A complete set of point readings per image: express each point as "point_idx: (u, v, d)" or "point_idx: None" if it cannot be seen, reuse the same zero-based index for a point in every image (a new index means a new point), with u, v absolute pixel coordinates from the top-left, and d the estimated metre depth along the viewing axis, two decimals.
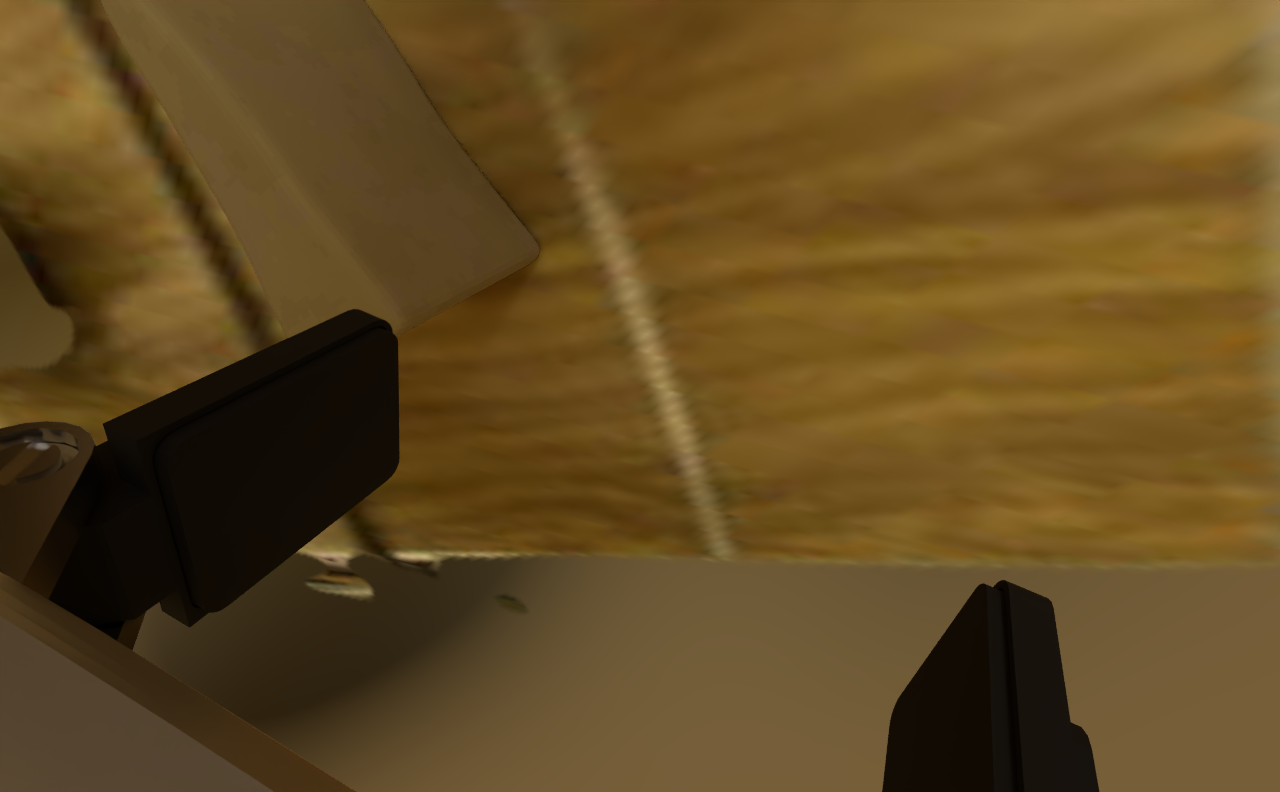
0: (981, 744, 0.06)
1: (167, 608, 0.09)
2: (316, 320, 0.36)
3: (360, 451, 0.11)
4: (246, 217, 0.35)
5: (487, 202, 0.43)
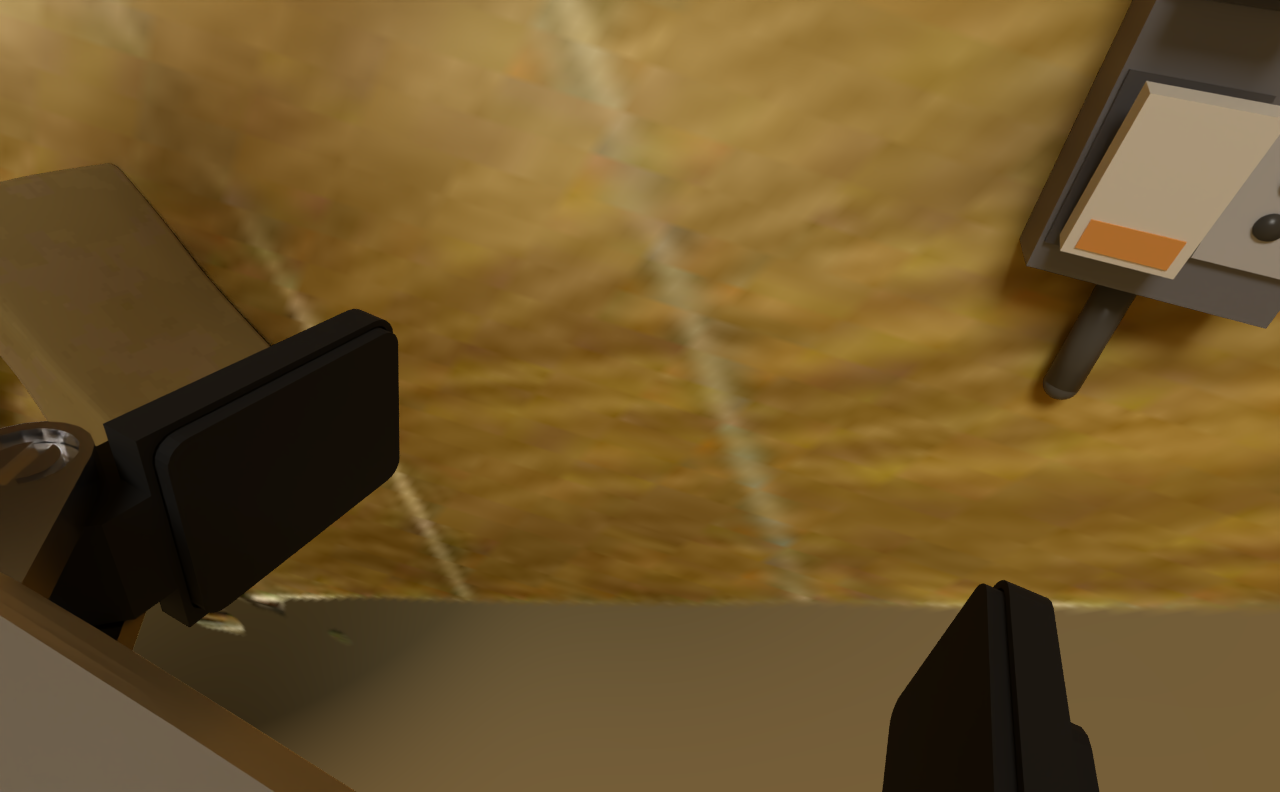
0: (981, 744, 0.06)
1: (168, 607, 0.09)
2: None
3: (360, 451, 0.11)
4: (23, 373, 0.49)
5: (235, 337, 0.57)
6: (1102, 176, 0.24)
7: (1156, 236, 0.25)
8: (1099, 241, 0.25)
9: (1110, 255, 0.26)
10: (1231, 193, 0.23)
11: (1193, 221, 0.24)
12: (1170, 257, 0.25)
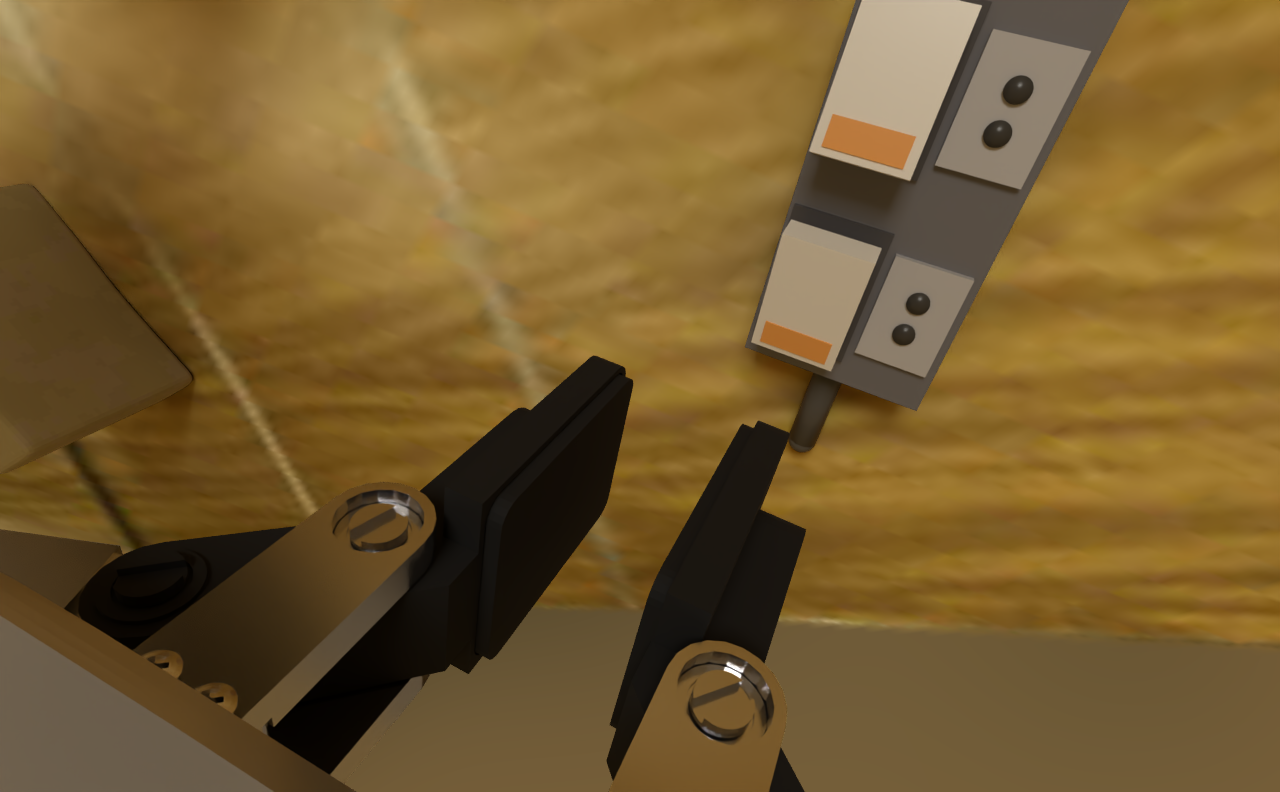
0: None
1: None
2: None
3: (592, 494, 0.11)
4: None
5: (141, 348, 0.62)
6: (766, 289, 0.30)
7: (811, 338, 0.31)
8: (774, 338, 0.31)
9: (784, 349, 0.32)
10: (852, 312, 0.29)
11: (833, 329, 0.30)
12: (824, 355, 0.31)
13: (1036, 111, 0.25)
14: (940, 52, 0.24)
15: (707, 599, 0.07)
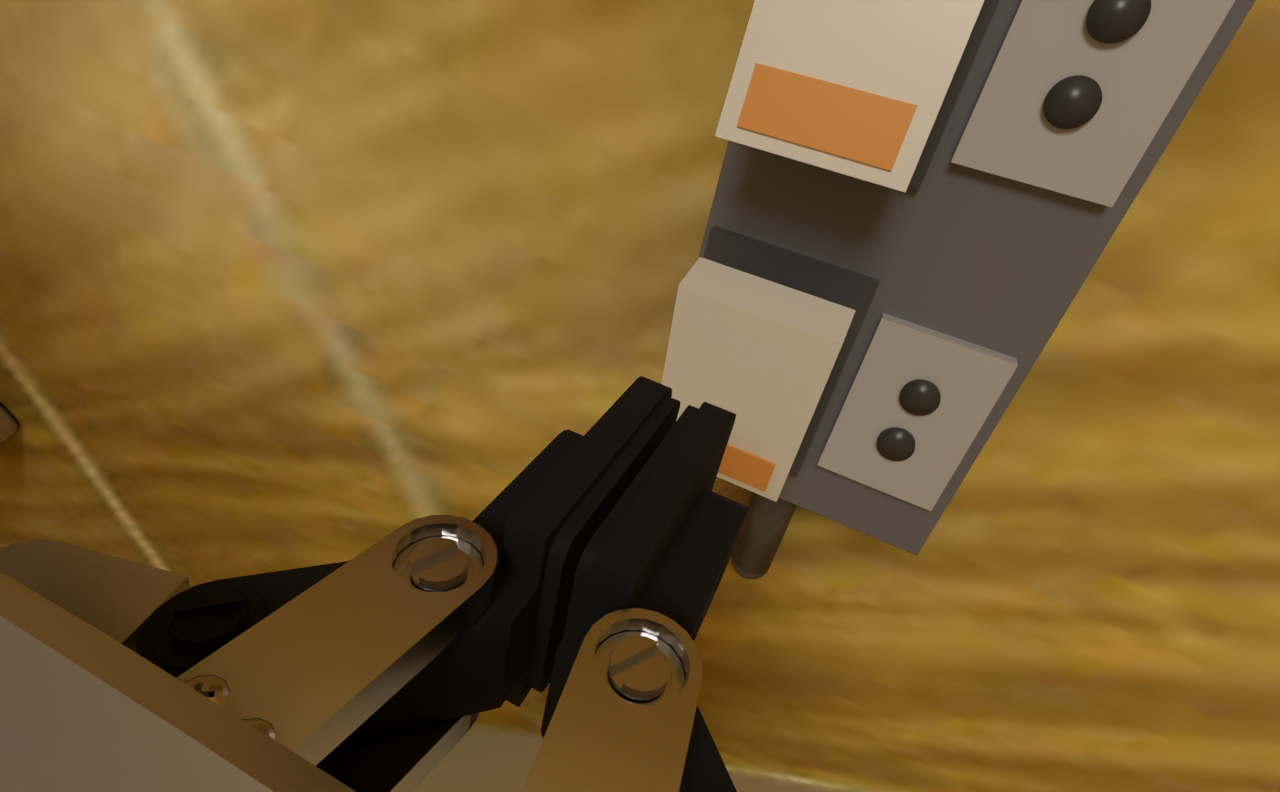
0: None
1: None
2: None
3: None
4: None
5: None
6: (663, 372, 0.18)
7: (741, 452, 0.18)
8: None
9: None
10: (805, 418, 0.17)
11: (775, 442, 0.18)
12: (764, 478, 0.19)
13: (1152, 56, 0.13)
14: None
15: (632, 569, 0.07)
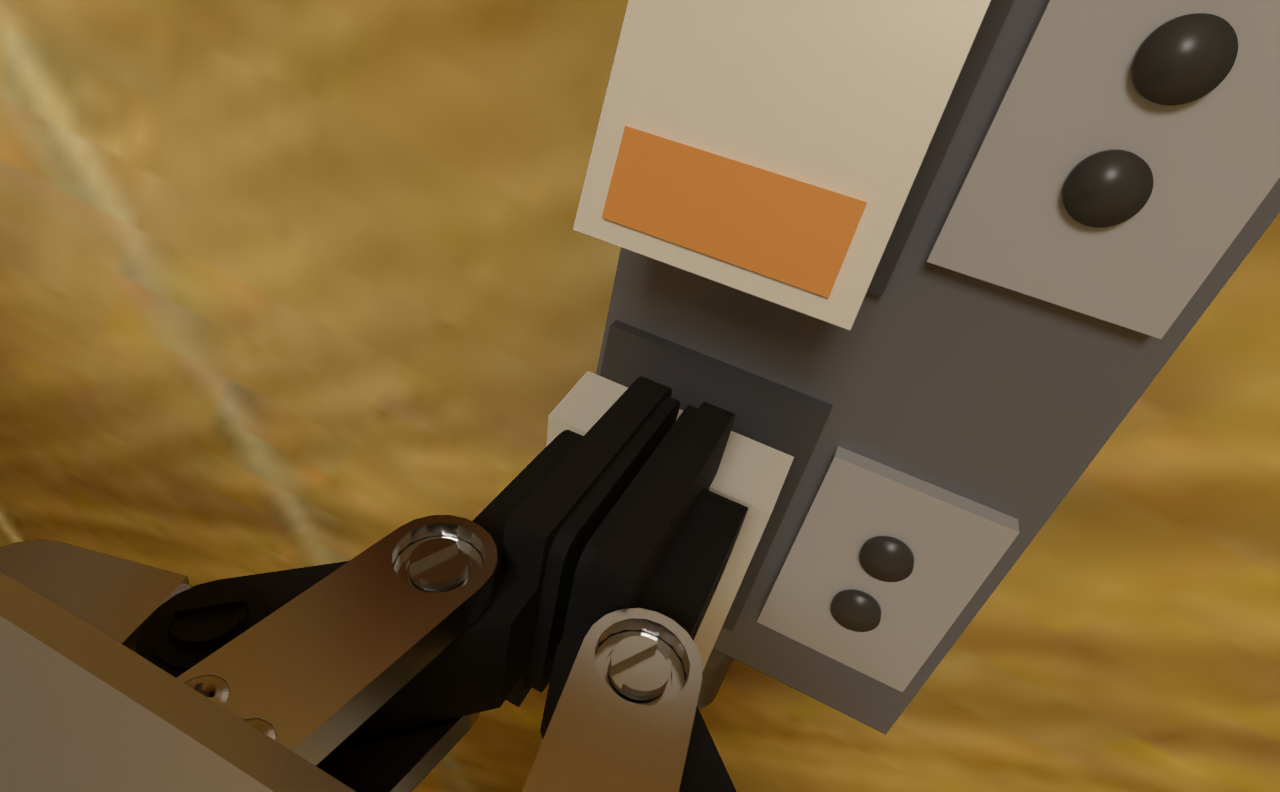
0: None
1: None
2: None
3: None
4: None
5: None
6: None
7: None
8: None
9: None
10: (726, 597, 0.12)
11: None
12: None
13: (1234, 126, 0.08)
14: None
15: (632, 569, 0.07)
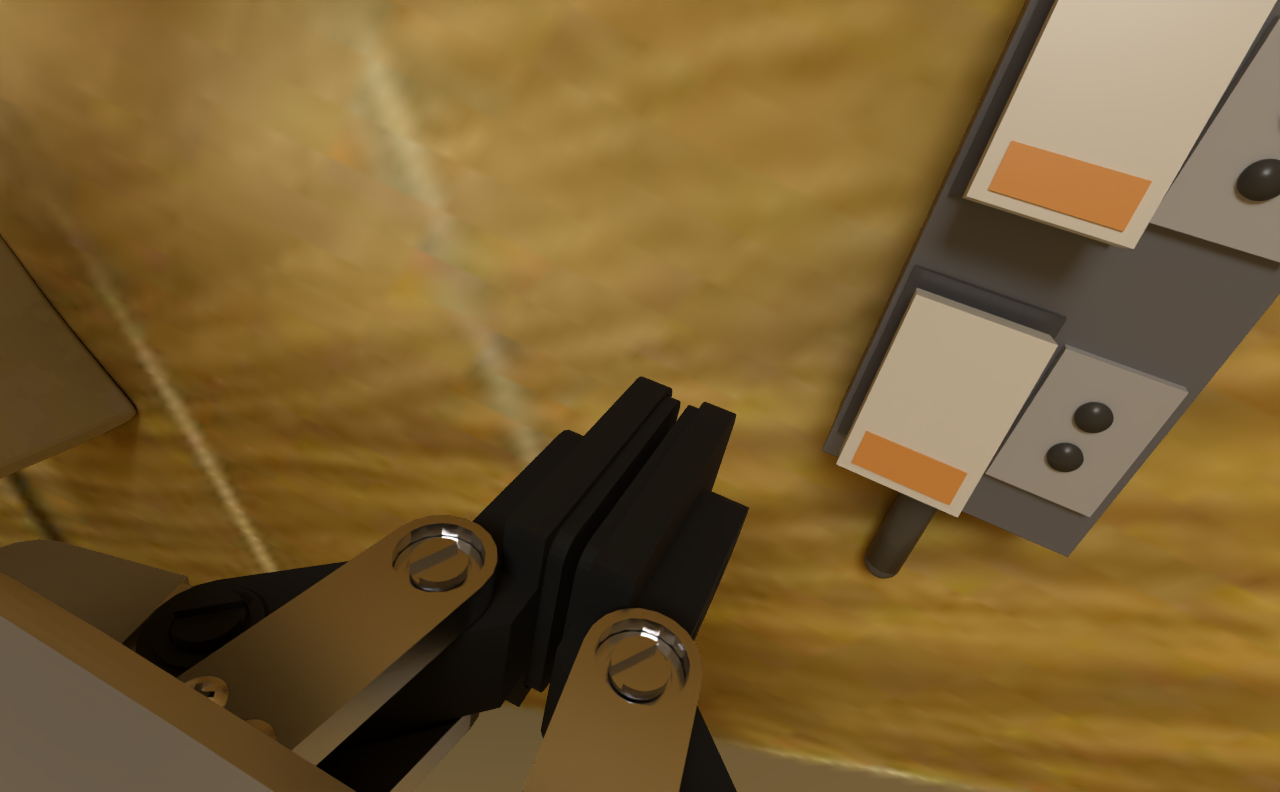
0: None
1: None
2: None
3: None
4: None
5: (75, 377, 0.53)
6: (874, 381, 0.21)
7: (934, 461, 0.21)
8: (876, 458, 0.21)
9: (889, 478, 0.21)
10: (1008, 421, 0.20)
11: (972, 449, 0.20)
12: (952, 489, 0.21)
13: None
14: (1208, 48, 0.15)
15: (632, 568, 0.07)
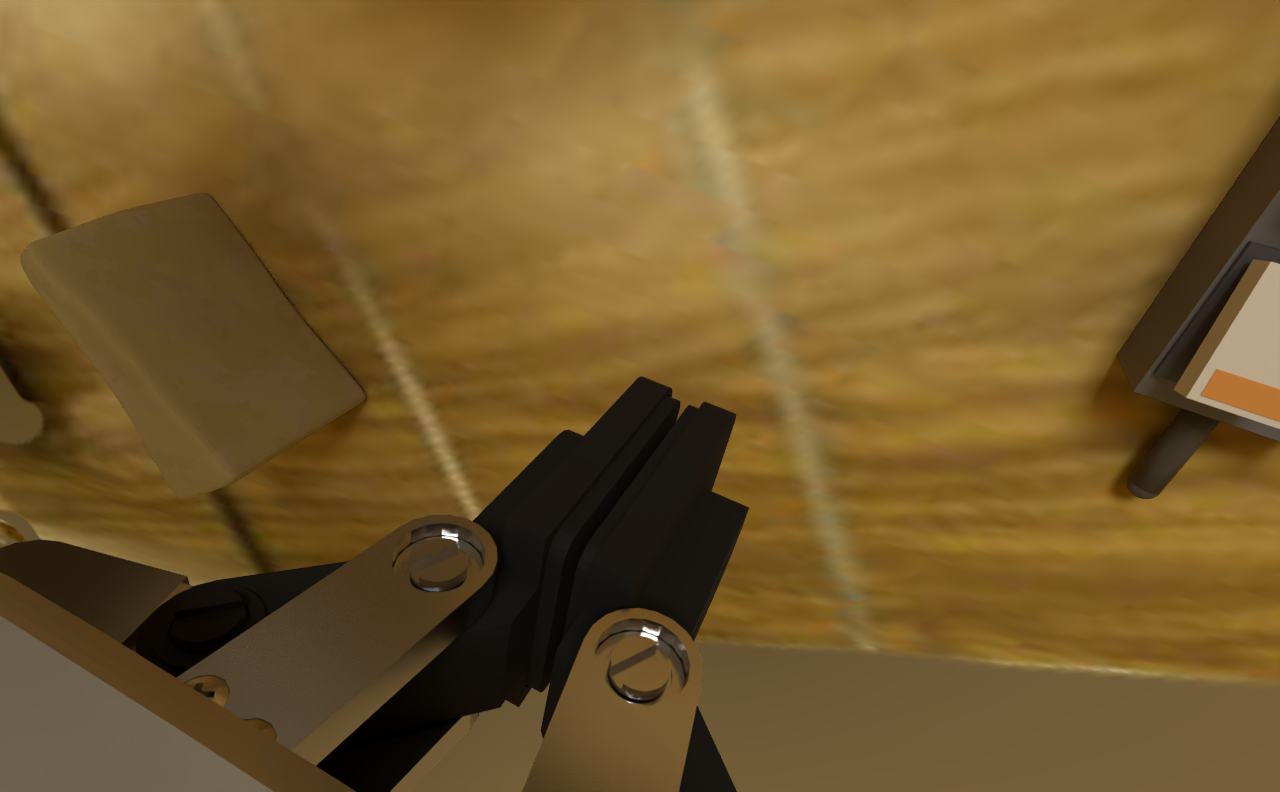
0: None
1: None
2: (179, 469, 0.52)
3: None
4: (128, 401, 0.51)
5: (320, 366, 0.59)
6: (1227, 330, 0.27)
7: (1276, 389, 0.27)
8: (1224, 390, 0.28)
9: (1234, 405, 0.28)
10: None
11: None
12: None
13: None
14: None
15: (632, 569, 0.07)
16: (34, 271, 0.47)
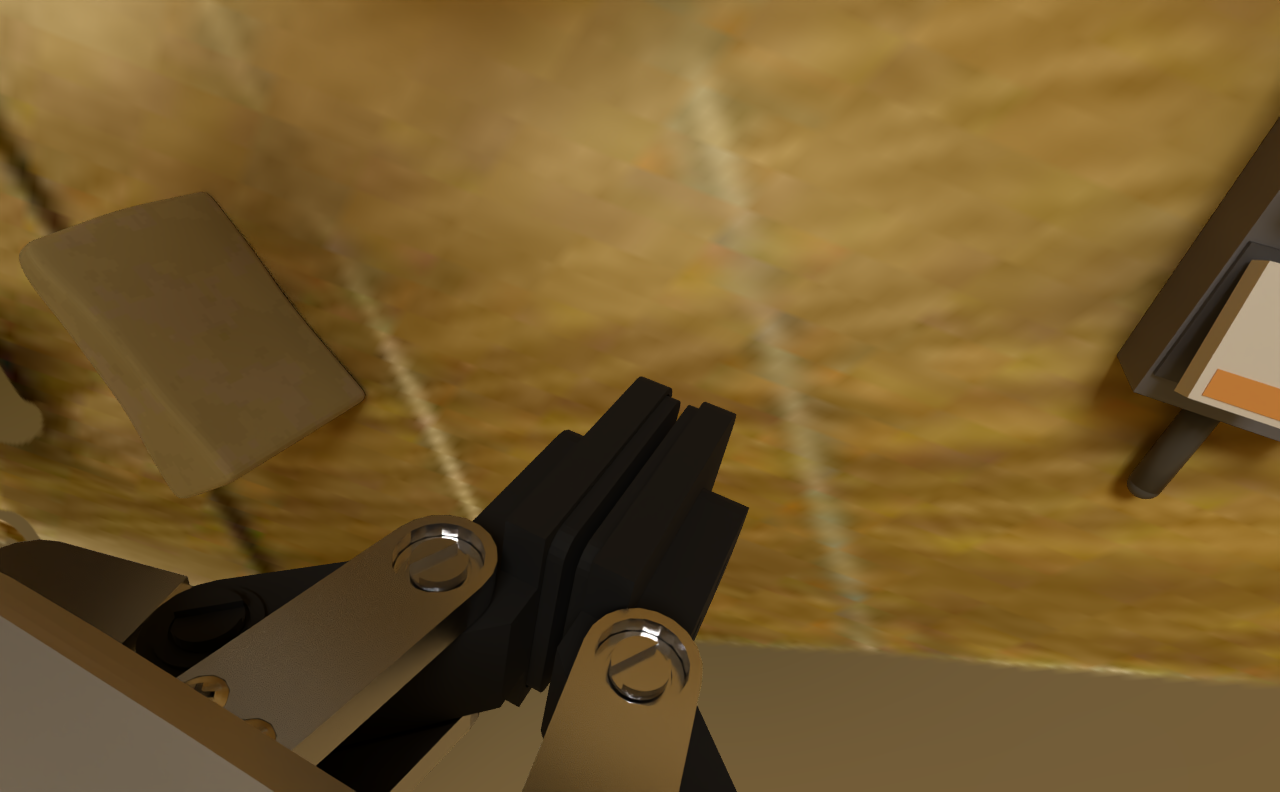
0: None
1: None
2: (177, 468, 0.52)
3: None
4: (127, 400, 0.51)
5: (319, 365, 0.59)
6: (1227, 330, 0.27)
7: (1277, 389, 0.27)
8: (1225, 390, 0.28)
9: (1235, 405, 0.28)
10: None
11: None
12: None
13: None
14: None
15: (632, 569, 0.07)
16: (33, 270, 0.47)
